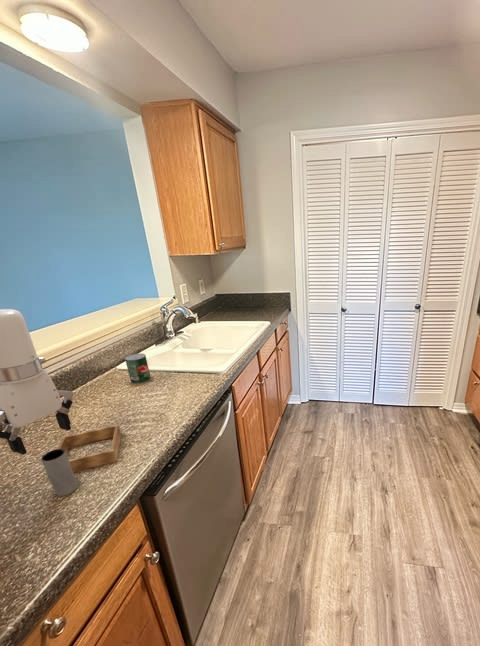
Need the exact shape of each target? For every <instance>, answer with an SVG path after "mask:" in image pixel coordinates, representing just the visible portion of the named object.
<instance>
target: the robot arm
mask: <svg viewBox="0 0 480 646" xmlns="http://www.w3.org/2000/svg"><path fill="white" fill-rule="evenodd" d="M33 342H34V341H33V340H32V337H31V334H30V331H29V329H28V326H27V322H26V320H25V317H24V315H23V314H22V312H21V311H19V310H17V309H14V308H1V309H0V425H1V424H2V425H4V426H5V425H6V426H5V428H4V430H3V431H2V430H0V439H4V440H6V441H7V443H8V446H9V448H10V450H11V452H12V453H14V454H15V453H16V454H20V455H21V456H24V455H26V454H27V452H28V451H27V448H26V446H25V444H24V442H23V439H22V437H20V436H19V434H20V432H21V429H22V428H23V427H26V426H28V425H31V424H32V423H33V424H34V423H35V422H37V421H39V420H42V419H43V418H46V417H48V416H50V415H52V414H54V413H55V412H56V413H55V415H54V416H55V419H56V421H57V424H58V427H59V429H61V430H65V431H71V430H72V427H71V423H72V422H71V420H70V417H69V413H70V412H71V411H70V409H71V407H72V405H73V398H74V392H73V391H72V390H62V389H61V390H58V389H57V387H56V385H55V383H54V382H53V379H52V378H51V377H50V375H49V373H48V371H46V369H44V368H43V366H42V365H43V364H45V363H47V360H46V358H45V357H44V356H41V357H39V356H38V354H37V351H36V348H35V344H34V343H33ZM61 397H63V400H61Z"/></svg>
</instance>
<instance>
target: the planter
mask: <svg viewBox="0 0 480 646" xmlns="http://www.w3.org/2000/svg"><path fill="white" fill-rule="evenodd" d="M40 460H41V463H42V465H43V468H44V470H45V472H46V475H47V477H48V479H49V481H50V483H51V486H52V488H53V491H54V493H55V495H56V496H57V497H64V496H68V495H70V494H71V493H73V492H74V491H76V490H77V488H78V487H79V483H78V481H77V477H76V476H75V472H73V470H72V468H71V465H70V463H69V460H70V459H69V457H68V455H67V453H66V452H65V450H63V449H57V448H56V449H52V450H50V451H48V452H46V453H44V454H43V455H42V456H41V458H40Z"/></svg>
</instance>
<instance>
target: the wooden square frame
mask: <svg viewBox="0 0 480 646" xmlns="http://www.w3.org/2000/svg"><path fill="white" fill-rule="evenodd" d="M119 425H120V424H114V425H110V426H105V427H104V426H103V427H101V428H96V429H91V430H87V431H86V430H85V431H83V432H78V433H73V434H69V435H65V436H64V435H63V436H62V437H61V439H60V441H59V443H58V446H57V448H56V449H63V450H65V452H66V454H67V453H68V450H69V448H73V447H77V446H80V445H85V444H89V443H93V442H98V441H103V440H106V439H111V438H112V440H111V441H112V442H111V446H110V449H108V450H104V451H100V452H96V453H92V454H88V455H84V456H79V457H76V458H72V459H68V460H69V463H70V465H71V468H72V470H73V473H76V472H80V471H84V470H87V469H88V470H89V469H93V468H95V467H99V466H103V465H107V464H111V463H116V462H118V457H119V450H120V444H121V438H122V432H121V429H120V426H119Z"/></svg>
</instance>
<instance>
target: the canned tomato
mask: <svg viewBox="0 0 480 646" xmlns="http://www.w3.org/2000/svg"><path fill="white" fill-rule="evenodd" d="M124 361H125V364H126V368H127V372H128V375H129V380H130V383H131V384H132V385H141V384H145V383H148V382H150V381H151V380H152V376H151V372H150V369H149V363H148V360H147V355H146V354H145V353H133V354H129V355H126V356H125V357H124Z"/></svg>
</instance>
